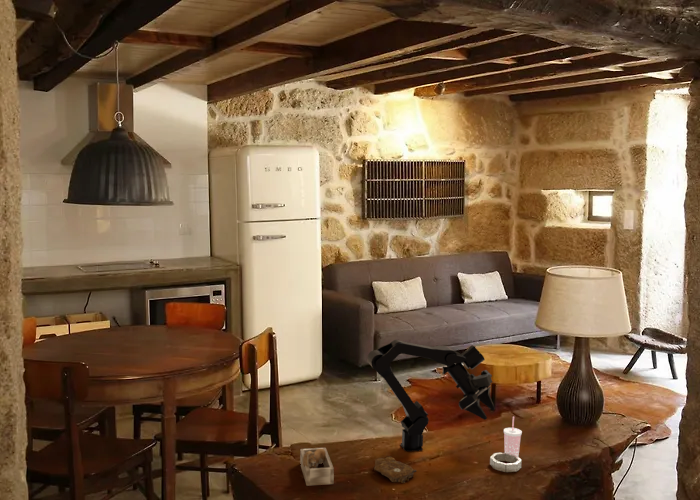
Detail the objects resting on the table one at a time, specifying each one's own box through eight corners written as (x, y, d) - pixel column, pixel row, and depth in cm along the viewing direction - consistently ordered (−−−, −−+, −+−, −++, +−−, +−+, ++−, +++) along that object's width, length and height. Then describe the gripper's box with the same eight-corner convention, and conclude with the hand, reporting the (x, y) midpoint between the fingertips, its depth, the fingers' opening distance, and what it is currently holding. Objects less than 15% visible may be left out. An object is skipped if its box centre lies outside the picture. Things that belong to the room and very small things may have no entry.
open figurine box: (306, 485, 218) (306, 470, 217) (300, 463, 234) (300, 449, 233) (333, 483, 219) (333, 468, 219) (325, 462, 235) (325, 447, 235)
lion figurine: (314, 482, 219) (314, 455, 218) (298, 480, 221) (298, 452, 220) (331, 464, 233) (331, 438, 232) (316, 462, 235) (316, 436, 234)
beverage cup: (524, 457, 243) (526, 417, 241) (511, 461, 239) (513, 421, 238) (511, 451, 248) (513, 412, 246) (498, 454, 244) (500, 415, 243)
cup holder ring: (497, 472, 230) (497, 465, 230) (486, 460, 239) (486, 453, 239) (525, 470, 232) (525, 463, 231) (513, 459, 241) (513, 452, 241)
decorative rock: (363, 472, 230) (396, 490, 219) (363, 460, 229) (396, 477, 218) (388, 461, 237) (421, 477, 226) (388, 449, 236) (421, 465, 225)
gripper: (470, 373, 237) (499, 411, 234) (487, 357, 253) (515, 393, 250) (446, 390, 242) (475, 428, 239) (464, 374, 258) (491, 409, 255)
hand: (490, 414), depth 246 cm, fingers open, 9 cm apart
